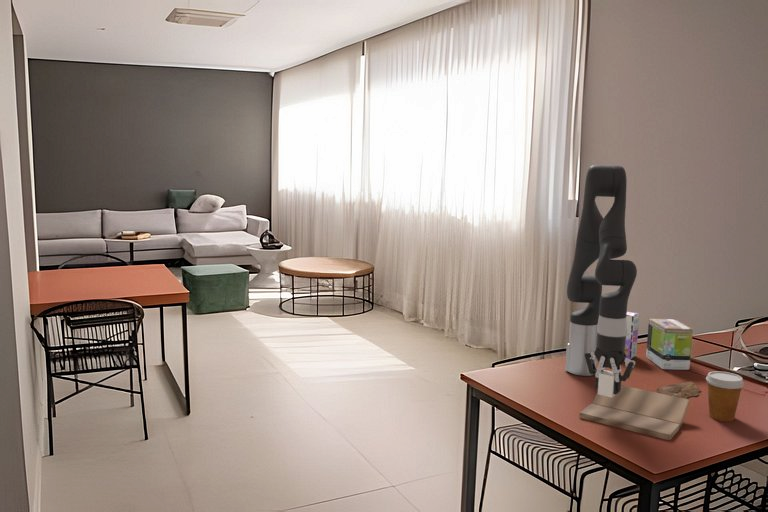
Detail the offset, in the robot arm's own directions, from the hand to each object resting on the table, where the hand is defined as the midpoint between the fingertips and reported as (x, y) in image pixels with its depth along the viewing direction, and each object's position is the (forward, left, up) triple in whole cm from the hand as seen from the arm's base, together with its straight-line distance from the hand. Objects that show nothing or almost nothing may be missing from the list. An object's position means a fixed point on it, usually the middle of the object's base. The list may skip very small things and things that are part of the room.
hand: (607, 391), depth 185 cm
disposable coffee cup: (+25, +21, -8) cm, 34 cm away
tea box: (-1, +64, -8) cm, 65 cm away
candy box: (-19, +63, -8) cm, 66 cm away
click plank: (+6, +10, -5) cm, 13 cm away
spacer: (0, 0, -1) cm, 1 cm away
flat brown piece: (+10, +35, -8) cm, 38 cm away
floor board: (+6, 0, -8) cm, 10 cm away
